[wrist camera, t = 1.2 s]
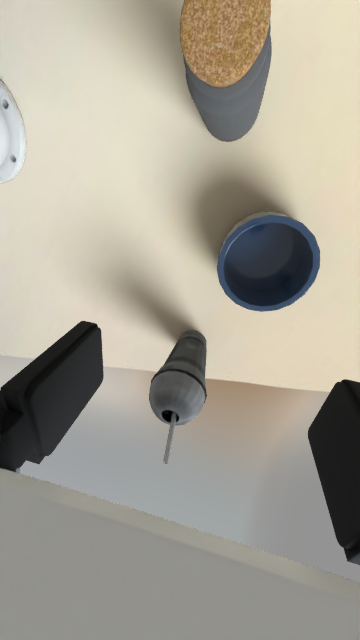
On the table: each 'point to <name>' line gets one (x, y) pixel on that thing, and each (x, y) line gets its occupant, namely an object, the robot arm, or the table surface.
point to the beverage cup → (180, 384)
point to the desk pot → (268, 261)
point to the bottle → (226, 61)
